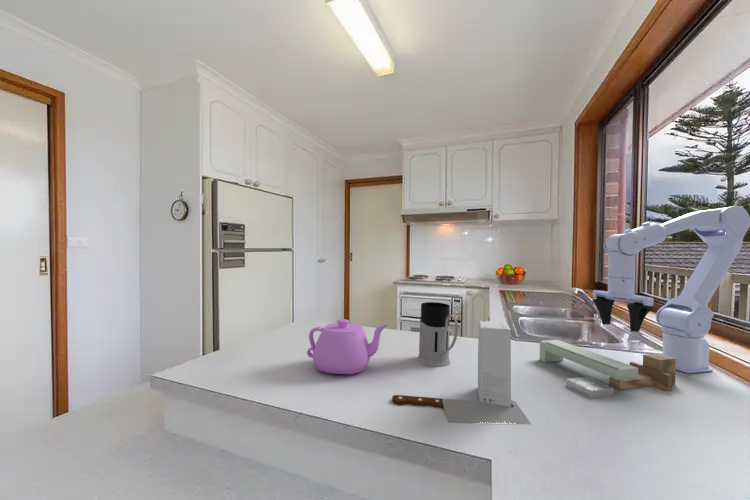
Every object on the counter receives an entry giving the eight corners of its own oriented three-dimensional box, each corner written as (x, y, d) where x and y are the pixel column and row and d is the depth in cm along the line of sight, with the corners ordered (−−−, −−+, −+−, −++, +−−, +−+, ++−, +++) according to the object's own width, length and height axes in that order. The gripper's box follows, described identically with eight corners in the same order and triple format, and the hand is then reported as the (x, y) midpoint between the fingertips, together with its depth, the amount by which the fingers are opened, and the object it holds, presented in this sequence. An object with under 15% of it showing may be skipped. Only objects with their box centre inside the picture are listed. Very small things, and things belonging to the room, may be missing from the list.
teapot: (297, 376, 69) (299, 324, 69) (314, 356, 83) (315, 312, 83) (385, 382, 68) (387, 329, 68) (388, 360, 81) (389, 316, 81)
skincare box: (511, 409, 57) (513, 330, 57) (477, 404, 59) (479, 327, 59) (506, 390, 65) (508, 320, 65) (476, 386, 67) (478, 318, 67)
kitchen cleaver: (390, 418, 52) (393, 388, 62) (390, 424, 52) (392, 393, 62) (539, 431, 50) (517, 399, 60) (539, 438, 50) (516, 404, 60)
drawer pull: (557, 358, 87) (557, 338, 87) (637, 392, 66) (638, 366, 66) (539, 359, 85) (540, 339, 85) (616, 394, 65) (617, 368, 65)
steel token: (586, 385, 70) (587, 376, 70) (613, 397, 64) (613, 387, 64) (566, 387, 69) (566, 378, 69) (591, 400, 63) (591, 390, 63)
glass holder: (438, 353, 88) (440, 301, 88) (470, 372, 74) (472, 311, 74) (411, 356, 85) (413, 302, 85) (439, 377, 71) (441, 312, 71)
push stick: (647, 374, 77) (648, 350, 76) (687, 388, 69) (687, 362, 69) (597, 379, 72) (597, 354, 72) (633, 395, 65) (634, 367, 65)
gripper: (585, 275, 89) (583, 321, 89) (639, 280, 75) (637, 335, 75) (603, 275, 91) (602, 321, 91) (660, 280, 77) (658, 334, 77)
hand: (619, 327), depth 83 cm, fingers open, 7 cm apart
